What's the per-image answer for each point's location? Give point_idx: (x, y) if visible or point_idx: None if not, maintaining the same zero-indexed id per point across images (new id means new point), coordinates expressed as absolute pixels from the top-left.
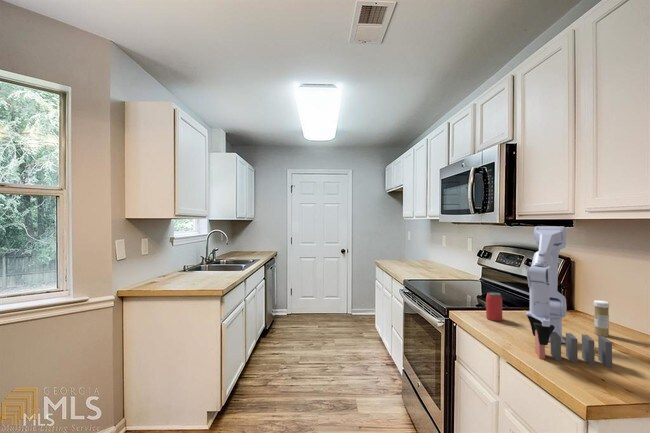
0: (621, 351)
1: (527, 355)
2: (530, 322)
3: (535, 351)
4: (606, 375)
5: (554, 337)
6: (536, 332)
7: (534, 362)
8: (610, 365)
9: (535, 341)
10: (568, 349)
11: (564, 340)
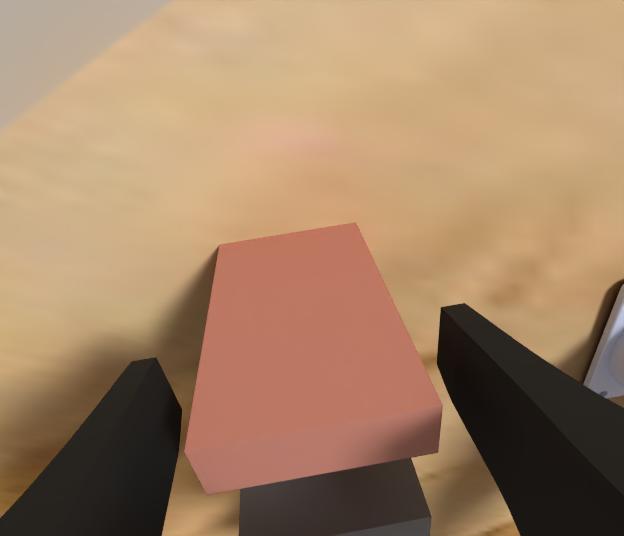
0: (503, 527)
1: (235, 150)
2: (598, 472)
3: (353, 227)
4: (178, 495)
5: (264, 527)
6: (349, 409)
7: (88, 201)
8: None
9: (374, 287)
10: None
11: (611, 396)
